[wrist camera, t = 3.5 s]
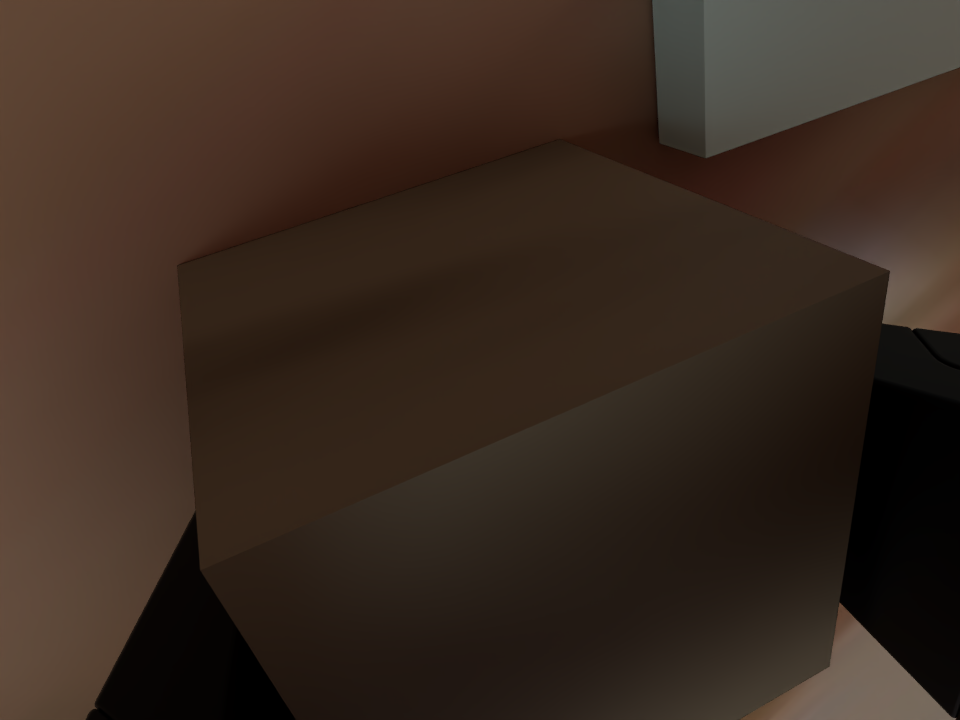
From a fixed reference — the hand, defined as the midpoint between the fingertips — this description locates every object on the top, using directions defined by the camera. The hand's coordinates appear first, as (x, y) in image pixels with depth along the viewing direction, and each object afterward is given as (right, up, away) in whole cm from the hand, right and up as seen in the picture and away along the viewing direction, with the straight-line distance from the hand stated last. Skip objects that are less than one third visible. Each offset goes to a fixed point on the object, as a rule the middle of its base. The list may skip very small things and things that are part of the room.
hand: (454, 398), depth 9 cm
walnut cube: (0, 0, +1) cm, 1 cm away
